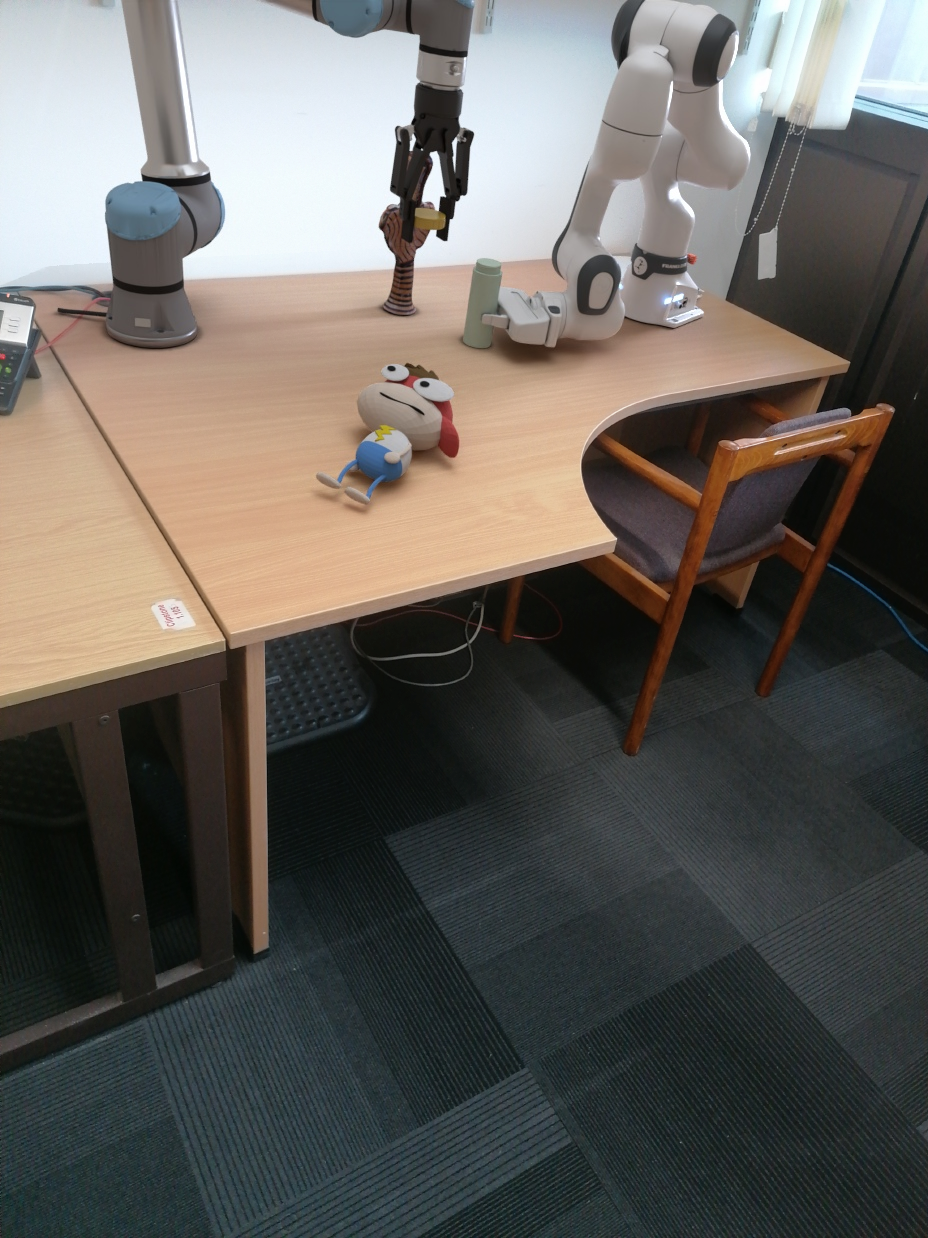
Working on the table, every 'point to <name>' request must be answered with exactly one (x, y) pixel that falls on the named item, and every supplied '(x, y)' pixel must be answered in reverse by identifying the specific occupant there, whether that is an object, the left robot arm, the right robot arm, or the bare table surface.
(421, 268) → the table surface
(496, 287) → the jar
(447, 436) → the toy
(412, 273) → the figurine
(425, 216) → the lid
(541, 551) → the table surface
